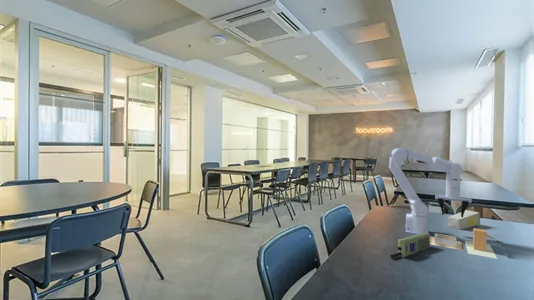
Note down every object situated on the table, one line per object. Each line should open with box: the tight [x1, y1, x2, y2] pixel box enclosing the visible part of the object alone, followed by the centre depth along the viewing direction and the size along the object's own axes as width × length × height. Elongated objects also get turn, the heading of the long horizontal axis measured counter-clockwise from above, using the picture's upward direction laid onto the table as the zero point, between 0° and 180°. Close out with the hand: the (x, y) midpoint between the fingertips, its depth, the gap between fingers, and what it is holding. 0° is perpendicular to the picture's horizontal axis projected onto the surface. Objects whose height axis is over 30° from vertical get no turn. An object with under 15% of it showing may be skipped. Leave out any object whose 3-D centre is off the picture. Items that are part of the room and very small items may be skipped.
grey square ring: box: [434, 233, 457, 248], centre depth 120 cm, size 8×8×2 cm
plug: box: [472, 227, 488, 251], centre depth 113 cm, size 4×4×8 cm
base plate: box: [430, 236, 464, 251], centre depth 120 cm, size 12×12×1 cm
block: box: [447, 209, 481, 230], centre depth 149 cm, size 19×8×8 cm, turn 115°
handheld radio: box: [389, 232, 431, 259], centre depth 109 cm, size 7×3×25 cm
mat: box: [464, 240, 498, 260], centre depth 113 cm, size 9×18×1 cm, turn 147°
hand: (452, 215), depth 131 cm, fingers open, 7 cm apart
